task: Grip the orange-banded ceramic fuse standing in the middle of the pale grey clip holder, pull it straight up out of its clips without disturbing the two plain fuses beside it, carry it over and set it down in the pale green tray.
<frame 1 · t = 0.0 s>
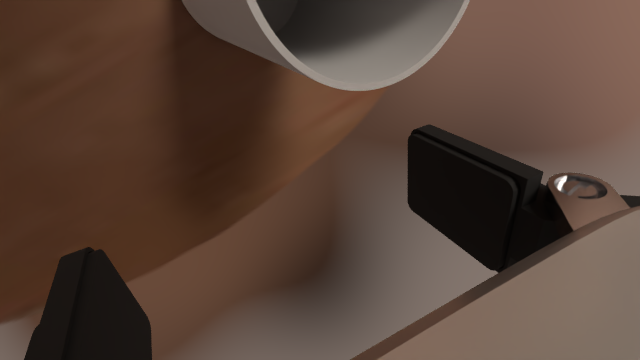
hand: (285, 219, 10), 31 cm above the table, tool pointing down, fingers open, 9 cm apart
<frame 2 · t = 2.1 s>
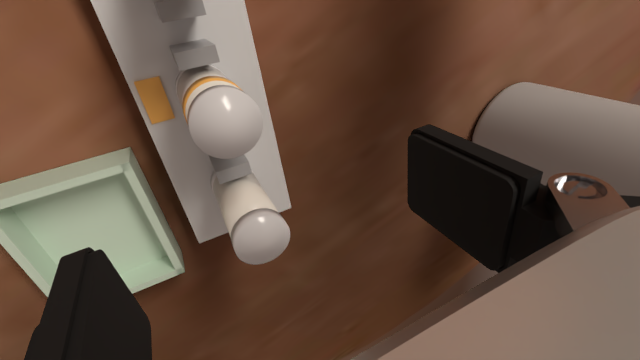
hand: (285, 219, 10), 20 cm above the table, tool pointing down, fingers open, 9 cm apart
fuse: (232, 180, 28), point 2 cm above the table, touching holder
cylinder vase: (502, 127, 45), on the table
tray: (100, 224, 27), on the table
holder: (198, 83, 26), on the table
fuse marked: (202, 88, 24), point 2 cm above the table, touching holder
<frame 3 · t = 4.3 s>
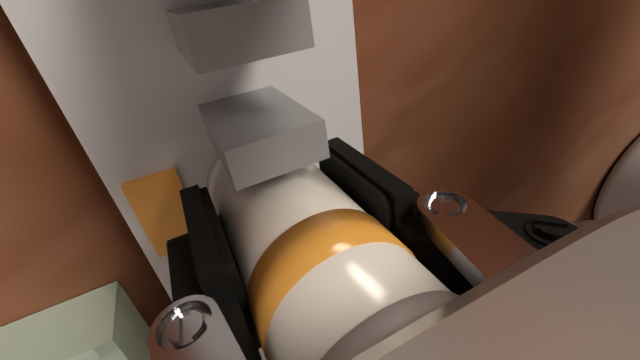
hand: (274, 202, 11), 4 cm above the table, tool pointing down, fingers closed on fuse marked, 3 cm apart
cylinder vase: (630, 175, 33), on the table
holder: (245, 159, 14), on the table
fuse marked: (259, 179, 12), point 2 cm above the table, touching gripper, holder
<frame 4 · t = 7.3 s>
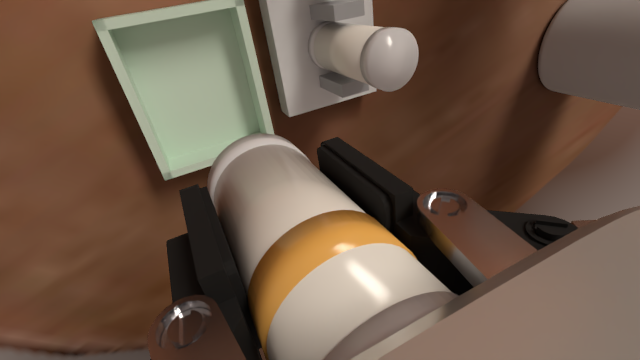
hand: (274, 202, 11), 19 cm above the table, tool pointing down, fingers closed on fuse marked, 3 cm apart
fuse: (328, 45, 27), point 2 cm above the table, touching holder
cylinder vase: (566, 42, 44), on the table
tray: (195, 85, 26), on the table
fuse marked: (259, 181, 12), point 18 cm above the table, touching gripper
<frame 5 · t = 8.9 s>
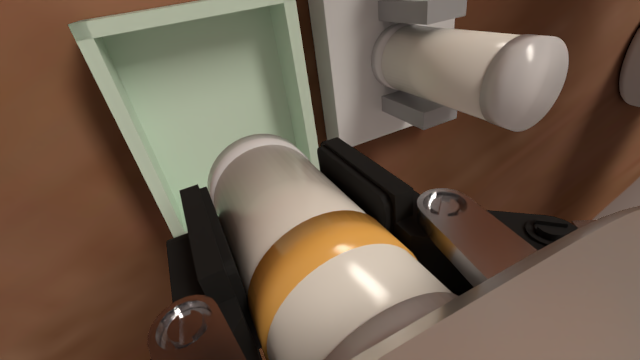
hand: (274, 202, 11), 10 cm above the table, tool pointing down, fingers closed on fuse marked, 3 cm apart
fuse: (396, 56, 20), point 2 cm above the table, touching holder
tray: (218, 111, 19), on the table
fuse marked: (259, 181, 12), point 9 cm above the table, touching gripper
when the fingers open (4 cm above the table, at t = 10.5 s): fuse marked drops 1 cm, resting on tray.
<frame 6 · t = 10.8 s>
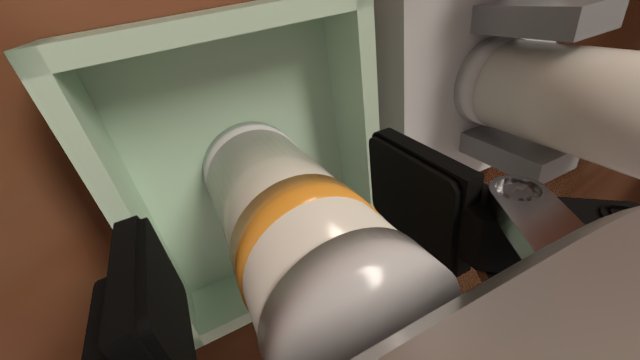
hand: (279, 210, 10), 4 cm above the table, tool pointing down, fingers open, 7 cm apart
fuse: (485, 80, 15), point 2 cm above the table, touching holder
tray: (245, 160, 14), on the table
fuse marked: (251, 167, 13), point 1 cm above the table, touching tray
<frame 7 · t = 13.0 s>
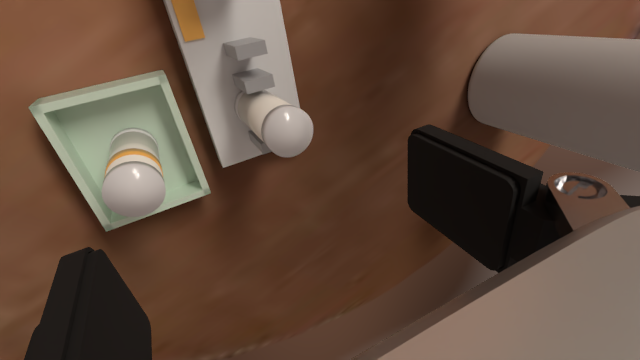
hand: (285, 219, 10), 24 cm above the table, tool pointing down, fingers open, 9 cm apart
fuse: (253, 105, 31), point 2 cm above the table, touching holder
cylinder vase: (495, 80, 48), on the table
tray: (134, 145, 29), on the table
holder: (223, 11, 28), on the table
fuse marked: (135, 147, 29), point 1 cm above the table, touching tray
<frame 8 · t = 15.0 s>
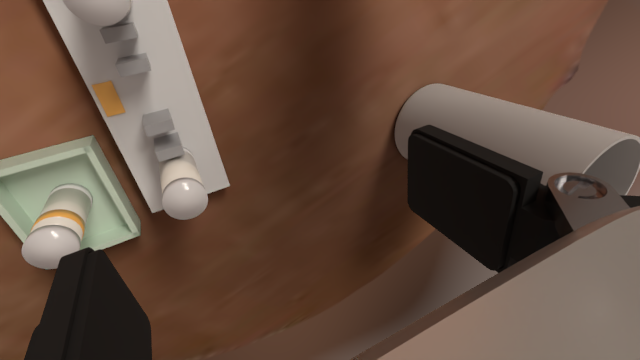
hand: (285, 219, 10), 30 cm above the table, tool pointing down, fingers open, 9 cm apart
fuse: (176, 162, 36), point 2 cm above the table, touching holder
cylinder vase: (423, 122, 52), on the table
tray: (71, 196, 35), on the table
holder: (146, 85, 33), on the table
fuse marked: (71, 199, 34), point 1 cm above the table, touching tray
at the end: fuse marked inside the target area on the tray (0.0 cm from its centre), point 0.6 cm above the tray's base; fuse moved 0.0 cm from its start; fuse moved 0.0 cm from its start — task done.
